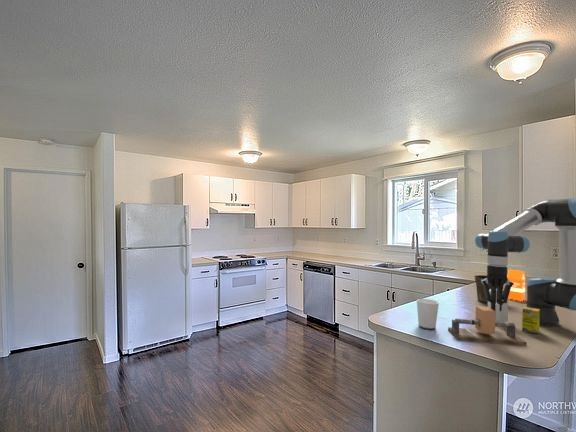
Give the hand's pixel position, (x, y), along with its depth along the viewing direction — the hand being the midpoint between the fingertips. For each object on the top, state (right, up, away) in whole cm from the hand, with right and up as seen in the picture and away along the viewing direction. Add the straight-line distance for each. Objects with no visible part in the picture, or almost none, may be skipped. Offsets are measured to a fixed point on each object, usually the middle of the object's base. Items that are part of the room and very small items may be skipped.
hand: (495, 318), depth 137 cm
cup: (-26, -9, +12) cm, 29 cm away
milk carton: (+18, -10, +26) cm, 33 cm away
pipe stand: (-4, -9, +1) cm, 10 cm away
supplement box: (+24, -10, +10) cm, 28 cm away
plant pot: (+39, -11, +66) cm, 77 cm away
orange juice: (+64, -12, +74) cm, 99 cm away
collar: (-5, -6, +1) cm, 8 cm away
